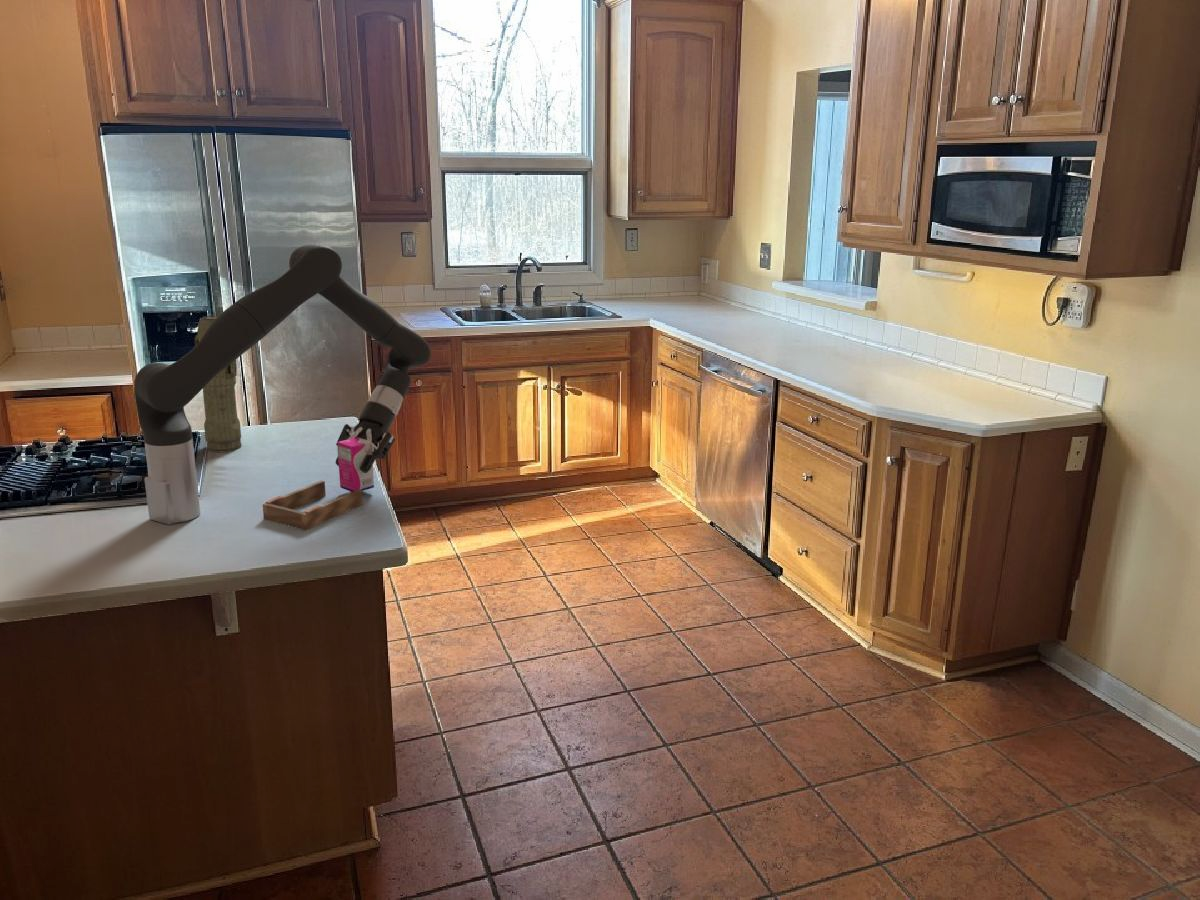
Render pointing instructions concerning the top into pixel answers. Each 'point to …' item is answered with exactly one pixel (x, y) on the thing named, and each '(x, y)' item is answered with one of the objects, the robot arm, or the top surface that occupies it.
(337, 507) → the channel
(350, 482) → the supplement box
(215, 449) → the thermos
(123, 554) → the top surface
